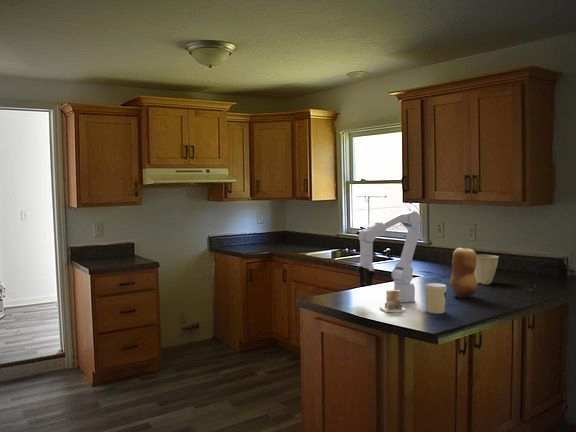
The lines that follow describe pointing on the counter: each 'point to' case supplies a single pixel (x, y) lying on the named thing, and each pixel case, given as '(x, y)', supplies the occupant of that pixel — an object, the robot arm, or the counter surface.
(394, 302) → the wooden block
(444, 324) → the counter surface
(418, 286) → the counter surface
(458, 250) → the butternut squash
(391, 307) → the cream pegged base plate
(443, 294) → the coffee cup
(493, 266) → the plant pot
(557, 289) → the counter surface
